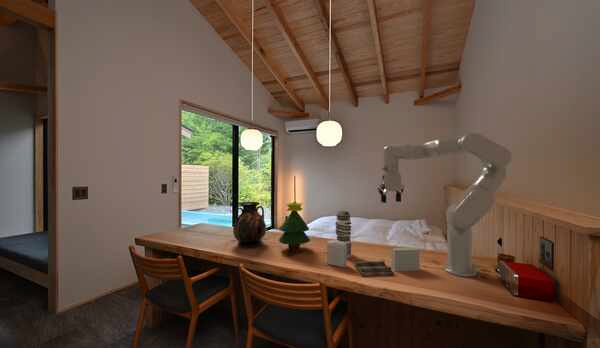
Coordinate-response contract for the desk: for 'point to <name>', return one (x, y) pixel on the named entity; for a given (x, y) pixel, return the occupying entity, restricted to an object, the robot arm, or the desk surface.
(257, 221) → the amphora vase
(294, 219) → the decorative tree
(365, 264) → the door track
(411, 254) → the pale sage cube
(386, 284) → the desk surface
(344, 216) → the grey layered cylinder
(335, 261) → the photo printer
